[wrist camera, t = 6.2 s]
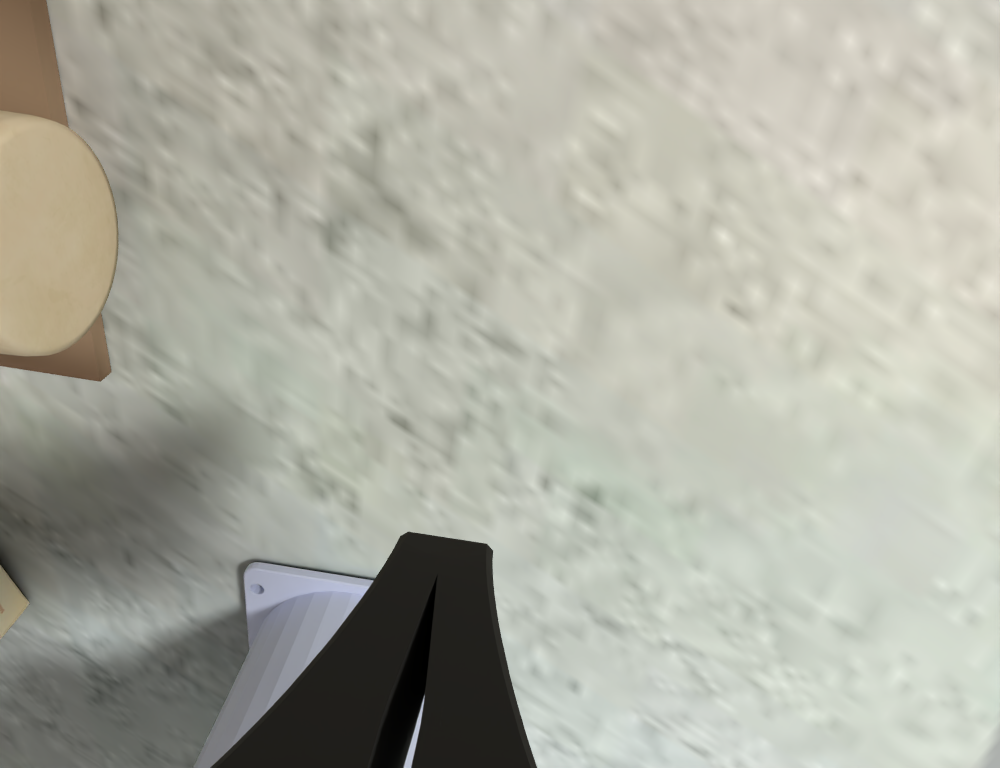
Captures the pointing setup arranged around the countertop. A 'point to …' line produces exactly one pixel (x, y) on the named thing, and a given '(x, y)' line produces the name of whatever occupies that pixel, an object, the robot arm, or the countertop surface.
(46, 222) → the candle
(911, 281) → the countertop surface
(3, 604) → the coffeecake box
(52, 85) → the walnut board
